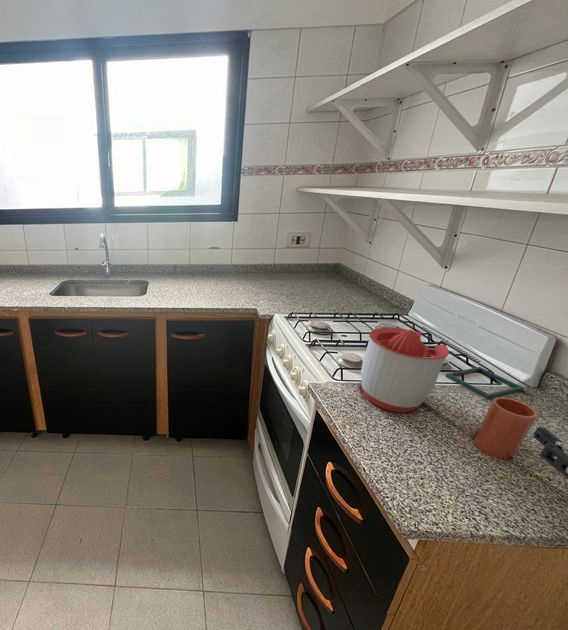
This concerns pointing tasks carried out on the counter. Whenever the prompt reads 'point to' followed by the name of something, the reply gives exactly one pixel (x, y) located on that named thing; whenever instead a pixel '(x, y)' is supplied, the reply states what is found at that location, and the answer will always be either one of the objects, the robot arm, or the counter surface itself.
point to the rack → (478, 369)
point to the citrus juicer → (399, 369)
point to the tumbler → (504, 428)
